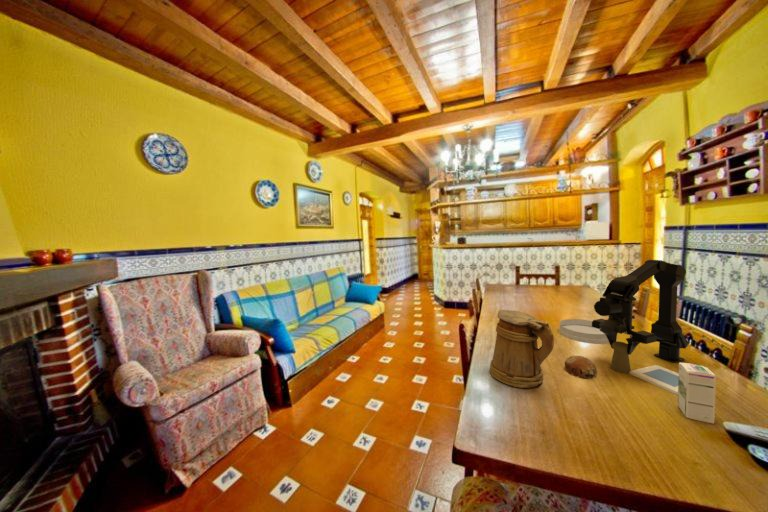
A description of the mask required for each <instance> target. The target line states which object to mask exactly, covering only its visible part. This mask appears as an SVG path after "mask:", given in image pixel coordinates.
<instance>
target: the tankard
mask: <svg viewBox="0 0 768 512" xmlns="http://www.w3.org/2000/svg"><path fill="white" fill-rule="evenodd" d="M497 318H498V322H497V323H496V327H495V332H496V337H495V343H494V349H493V354H492V355H493V356H492V359H491V361H490V364H489V372H490V374H491V376H492V377H493V378H494V379H496V380H497V381H499V382H500V383H503V384H506V385H508V386H511V387H515V388H522V389H531V388H535V387H536V386H539V385H541V384H542V383H543V381H544V369H543V367H542V366H541V365H542V363H543V362H544V361H545V360H547V358H548V357H549V356H550V354H551V353H552V352H553V348H554V347H555V346H554V345H555V338H554V333H553V331H552V328H551V327H550V325H549V322H547V321H543V320H540V319H537V318H536V317H535V316H534V315H531V314H529V313H527V312H524V311H520V310H511V309H510V310H509V309H507V310H505V309H500V310H499V311H498V312H497ZM539 339H540V340H541V346H540V347H539V346H538V340H539Z"/></svg>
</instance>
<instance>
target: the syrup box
mask: <svg viewBox="0 0 768 512" xmlns="http://www.w3.org/2000/svg"><path fill="white" fill-rule="evenodd" d="M678 373H679V381H678V395H677V407H678V409H679V410H680V411H681V413H682V414H683V415H684V417H685V418H687V419H692V420H694V421H699V422H703V423H709V424H712V425H713V424H715V420H716V419H715V415H716V391H717V390H716V389H717V387H716V386H717V385H716V384H717V382H716V381H717V376H716V373H713V372H712V370H710V368H708V367H707V366H706V365H702V364H695V363H689V362H681V361H678Z"/></svg>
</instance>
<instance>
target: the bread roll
mask: <svg viewBox="0 0 768 512" xmlns="http://www.w3.org/2000/svg"><path fill="white" fill-rule="evenodd" d="M564 368H565V370H566V371H567V372H568V373H569V374H571V375H573V376H575V377H578V378H581V379H582V378H583V379H592V378H594V377H596V376H597V374H598V370H597V367H596V365H595V363H594V362H593V361H592V360H591V359H590V358H588V357H586V356H583V355H569V357H567V358H566V359H565V361H564Z"/></svg>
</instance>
